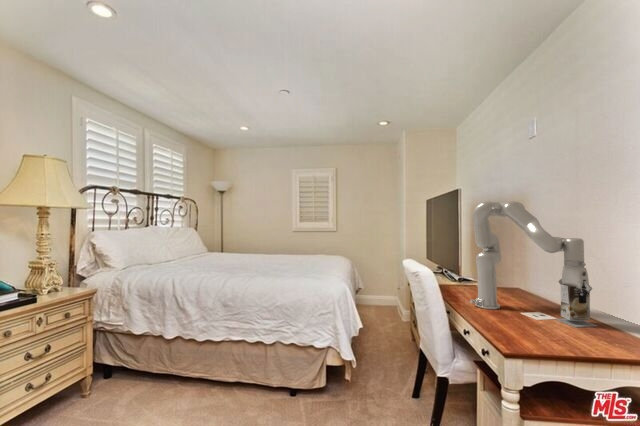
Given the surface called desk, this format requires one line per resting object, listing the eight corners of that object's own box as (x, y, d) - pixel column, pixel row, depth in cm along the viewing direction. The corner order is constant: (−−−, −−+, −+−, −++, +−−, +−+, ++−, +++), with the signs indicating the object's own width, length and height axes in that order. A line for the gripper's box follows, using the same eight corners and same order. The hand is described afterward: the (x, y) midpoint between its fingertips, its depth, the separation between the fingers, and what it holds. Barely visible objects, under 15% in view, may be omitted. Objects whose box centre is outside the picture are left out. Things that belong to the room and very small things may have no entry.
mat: (576, 327, 141) (576, 326, 141) (555, 319, 152) (555, 319, 152) (597, 326, 142) (597, 325, 142) (575, 318, 153) (575, 317, 153)
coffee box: (569, 320, 145) (569, 286, 145) (560, 316, 151) (559, 283, 151) (590, 321, 144) (590, 286, 144) (580, 316, 150) (579, 283, 150)
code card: (537, 320, 152) (537, 319, 152) (520, 313, 163) (520, 312, 163) (557, 319, 153) (557, 318, 153) (539, 312, 164) (539, 311, 164)
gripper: (599, 266, 140) (600, 305, 139) (564, 261, 157) (565, 296, 157) (584, 267, 139) (585, 306, 138) (551, 261, 156) (552, 296, 156)
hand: (574, 300), depth 148 cm, fingers closed on coffee box, 7 cm apart
